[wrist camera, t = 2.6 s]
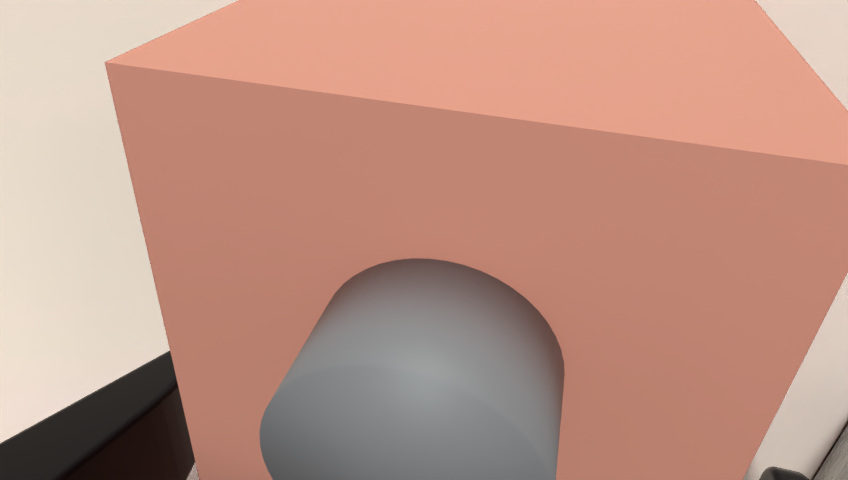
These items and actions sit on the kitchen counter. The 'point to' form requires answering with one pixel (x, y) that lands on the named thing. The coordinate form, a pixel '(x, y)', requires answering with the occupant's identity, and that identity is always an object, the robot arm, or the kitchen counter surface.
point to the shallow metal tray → (836, 461)
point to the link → (484, 234)
